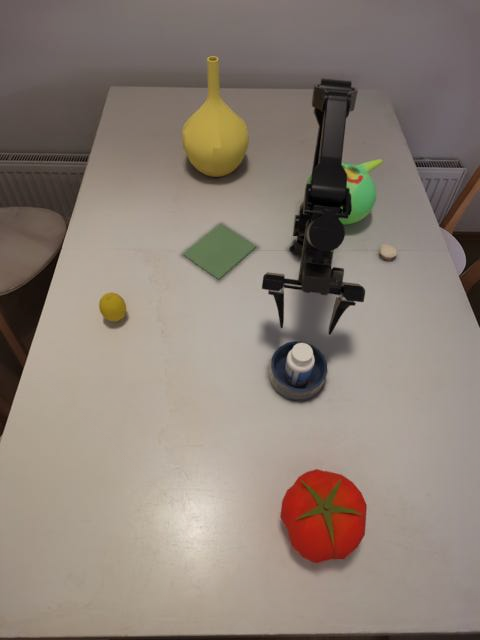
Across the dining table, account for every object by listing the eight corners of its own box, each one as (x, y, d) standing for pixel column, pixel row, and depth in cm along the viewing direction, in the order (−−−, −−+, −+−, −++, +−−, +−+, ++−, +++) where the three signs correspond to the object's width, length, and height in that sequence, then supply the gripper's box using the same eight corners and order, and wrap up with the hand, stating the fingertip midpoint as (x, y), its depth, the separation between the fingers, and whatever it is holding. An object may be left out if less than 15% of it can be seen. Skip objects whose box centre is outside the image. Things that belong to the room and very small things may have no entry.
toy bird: (293, 223, 114) (301, 177, 101) (312, 184, 122) (321, 138, 110) (360, 243, 110) (376, 198, 98) (374, 202, 119) (391, 155, 107)
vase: (259, 160, 128) (266, 54, 103) (225, 195, 119) (223, 88, 94) (208, 139, 133) (203, 33, 108) (172, 171, 124) (157, 64, 99)
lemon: (124, 329, 95) (116, 309, 88) (100, 325, 95) (90, 304, 89) (132, 309, 98) (125, 288, 91) (109, 305, 98) (100, 283, 92)
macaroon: (381, 262, 107) (384, 256, 105) (374, 248, 109) (377, 241, 107) (397, 260, 107) (401, 253, 105) (390, 245, 110) (393, 238, 108)
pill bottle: (312, 367, 90) (320, 344, 82) (306, 390, 87) (313, 368, 79) (287, 359, 91) (292, 336, 83) (280, 381, 88) (285, 359, 80)
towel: (220, 224, 113) (220, 223, 113) (255, 247, 109) (256, 246, 108) (183, 255, 107) (182, 253, 107) (218, 280, 103) (218, 278, 102)
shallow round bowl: (291, 342, 94) (293, 331, 90) (333, 373, 90) (338, 363, 86) (258, 377, 89) (259, 367, 85) (302, 411, 85) (305, 402, 81)
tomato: (357, 487, 78) (376, 470, 68) (350, 576, 70) (370, 572, 60) (285, 469, 79) (292, 451, 69) (270, 555, 71) (276, 548, 62)
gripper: (266, 244, 72) (254, 333, 75) (378, 258, 71) (362, 348, 74) (268, 243, 83) (258, 321, 86) (365, 255, 82) (351, 334, 85)
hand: (305, 331), depth 83 cm, fingers open, 9 cm apart
